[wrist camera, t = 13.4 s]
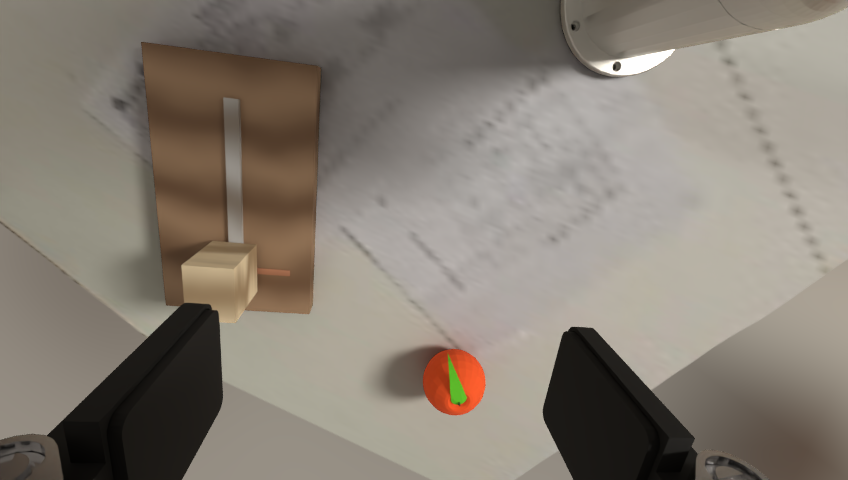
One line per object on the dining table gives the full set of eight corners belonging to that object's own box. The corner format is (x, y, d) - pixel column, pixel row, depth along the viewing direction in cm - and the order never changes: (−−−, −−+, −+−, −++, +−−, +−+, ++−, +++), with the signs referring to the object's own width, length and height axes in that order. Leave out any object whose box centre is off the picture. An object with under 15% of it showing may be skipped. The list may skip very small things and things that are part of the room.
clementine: (412, 337, 46) (416, 377, 39) (470, 323, 46) (485, 360, 39) (427, 391, 48) (433, 438, 41) (482, 378, 48) (497, 422, 42)
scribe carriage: (212, 240, 37) (181, 265, 32) (256, 244, 38) (233, 269, 32) (215, 294, 39) (185, 326, 33) (257, 297, 39) (235, 329, 34)
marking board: (154, 45, 34) (137, 40, 32) (321, 68, 36) (316, 65, 33) (176, 296, 41) (163, 307, 39) (312, 304, 43) (308, 316, 41)
